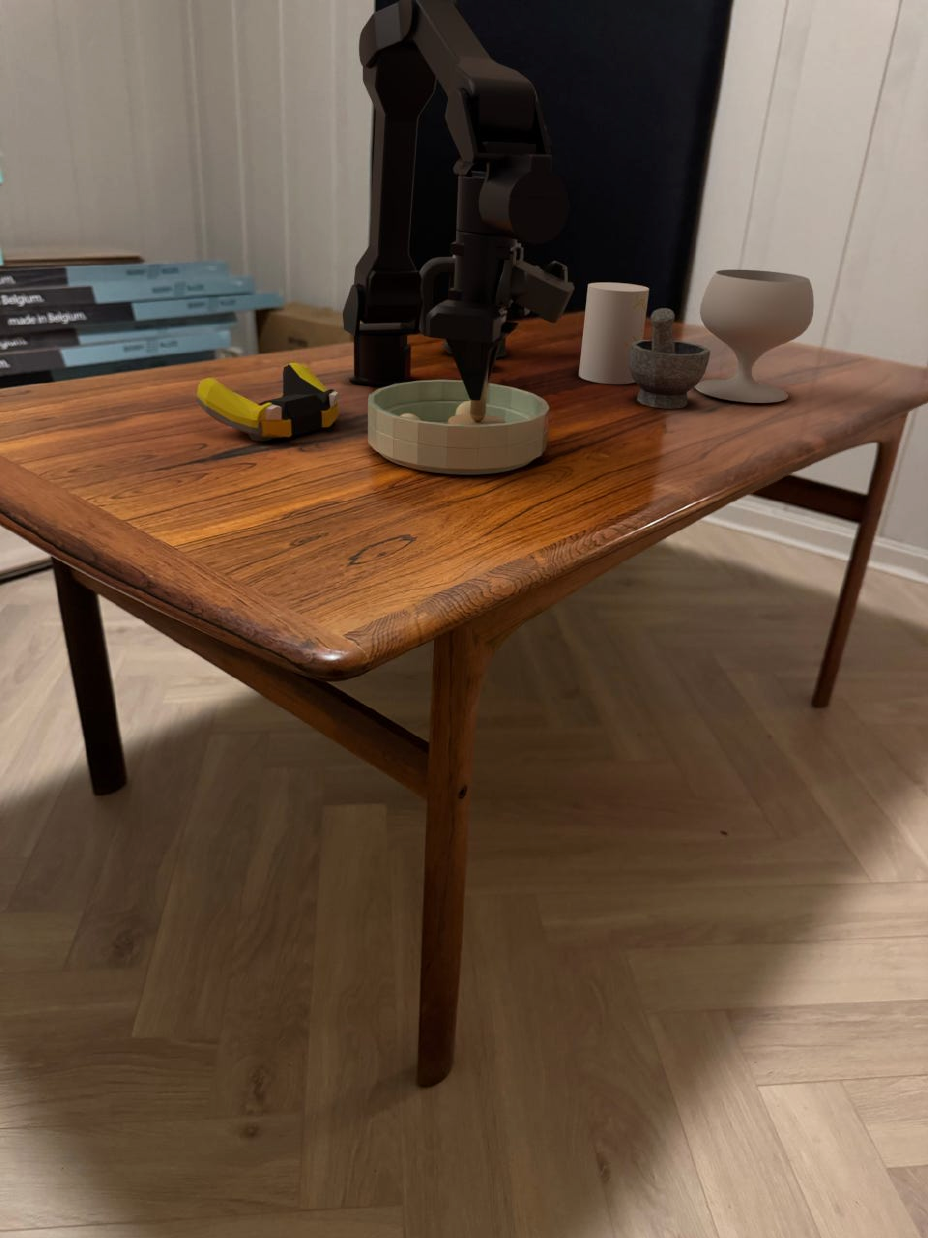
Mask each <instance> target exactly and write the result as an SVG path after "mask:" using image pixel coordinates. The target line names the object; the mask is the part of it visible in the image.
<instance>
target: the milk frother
mask: <svg viewBox="0 0 928 1238" xmlns="http://www.w3.org/2000/svg"><path fill="white" fill-rule="evenodd" d="M418 272H419V273H420V275H421V278H422V281H421V288H420V289H421V292H422V296H423V304H422V310H421V316H420V323H419V328H418V331H419V333H420V334H421V335H422V336H424V337H427V336H426V315H427V314H428V313H429V312H430V311H431V310H432V309H433V308H434V283H435V282H434V281H435V279H436V278H437V276H438V275H439V274H442V273H448V288H447V290H449V289H451V288H453V287H454V277H455V255H452V256H438V257H433V258H431V259H430V260H428V261H427V262H425V263H424V264H423V265H422V267H421V268H420V270H419V271H418ZM502 314H505V315H506V320H505V321H506V322H508V311H507V310H503V311H502ZM506 342H507V337H505V338H504V339H503V340H502V342H501V345H500V348H499V351H498V354H497V358H502V357H505V356H506V355H507V354H508V351H507V350H506V344H507V343H506ZM441 346H443V347H444V348H445V351H446V352H447V353H448V354H450V355H452V353H451V351H450V349H449V346H448V344H447V342H446V340H443V342H442V343H441ZM497 358H496V359H497Z"/></svg>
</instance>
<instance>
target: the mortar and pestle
mask: <svg viewBox="0 0 928 1238" xmlns="http://www.w3.org/2000/svg"><path fill="white" fill-rule="evenodd" d="M649 318H650V319H649V320H650V323H651V324H652V330H651V332H652V333H651V334H652V335H651V339H643V340H637V341H635V342H633V343H631V344H630V347H629V354H628V356H629V369H630V372H631V375H632V377H633V379H634V381H635V382H634V383H636V384H637V386H638V387H639V388H640V389H639V391H638V393H637V398H636V401H637V402H638V403H639V404H641V405H644V406H648V407H651V408H656V409H667V410H668V409H669V410H673V409H682V408H684V407H685V406H687V405H688V392H689V391H690V390H692V389H693V388H695V385H697V384H698V383H699V382H701V380H702V379H703V377H704V375H705V373H706V371H707V367H708V365H709V362H710V355H711V350H710V349H709V348H707V347H705V346H703V345H701V344H696V343H691V342H687V341H682V340H675V332H674V321H675V319H676V315H675V313H674V311H673V310H672V309H670V308H667V307H664V308H663V307H662V308H661V307H660V308H657V309H655V310H654V311H652V312H651V315H650V316H649Z"/></svg>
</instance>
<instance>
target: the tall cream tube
mask: <svg viewBox="0 0 928 1238" xmlns="http://www.w3.org/2000/svg"><path fill="white" fill-rule="evenodd" d="M649 294H650V288H649V287H647V286H644V285H640V284H639V285H638V284H634V283H623V282H591V283H588V284H587V291H586V302H585V311H584V320H583V330H582V340H581V350H580V360H579V369H578V377H579V378H581V379H583V380H585V381H589V382H592V383H598V384H604V385H605V384H606V385H607V384H608V385H628V384H633V383H636V382H635V381H634V379H633V377H632V375H631V372H630V369H629V356H628V354H629V347H630V344H631V343H633V342H635V341H637V340H644V331H645V326H646V325H645V324H646V317H647V309H648V301H649Z"/></svg>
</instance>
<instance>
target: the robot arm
mask: <svg viewBox="0 0 928 1238" xmlns="http://www.w3.org/2000/svg"><path fill="white" fill-rule="evenodd" d="M358 57H359V62H360V66H362V82H363V85H364V87H365V89H366V91H367V94H368V96H369V98H370V100H371V102H372V104H373V107H374V109H375V123H374V124H375V125H374V142H373V143H374V144H373V145H374V146H373V163H372V165H373V166H372V186H371V187H372V188H371V207H370V225H369V227H370V228H369V229H370V230H369V245H368V247H367V248H366V250H365V251H364V252H363V254H362V256H361V257H360V259H359V260H358V262H357V263H356V265H355V266H354V275H353V276H354V277H353V284H352V285H351V286H350V289H349V291H348V295H347V298H346V301H345V303H344V307H343V310H342V321H343V330H344V331H346V332H347V333H349V334H350V335H351V336H353V376H350V377H348V381H349V383H353V384H361V385H370V386H379V387H386V386H390V385H393V384H398V383H406V381H408V380H409V379H411V378H412V376H411V375H412V374H411V371H412V369H411V367H412V366H411V365H412V345H411V344H409V343H408V335H410V334H412V335H418V332H419V323H420V316H421V310H422V304H423V296H422V292H421V289H420V288H421V281H422V278H421V275H420V273H419V272H420V271H419V270H417V268H416V266H415V264H414V262H413V260H412V258H411V256H410V237H411V236H410V235H411V223H412V211H413V210H412V209H413V196H414V195H413V194H414V181H415V169H416V168H415V167H416V152H417V141H418V140H417V139H418V126H419V125H418V124H419V118H420V115H421V114H422V113H423V111H424V109H425V108H426V106H427V105H428V103H429V102H430V100H431V99H432V97H433V95H434V94H435V91H436V87H437V81H438V83H439V84H440V85H441V88H442V89H443V90H444V92H445V93H446V96H447V98H448V99H447V104H446V110H445V113H444V119H445V121H446V123H447V127H448V130H449V133H450V135H451V137H452V140H453V141H454V142H453V143H454V144H455V146H456V148H457V151H458V153H459V155H460V158H459V159H458V160H456V162H455V164H454V166H453V173H454V175H458V181H457V182H458V183H457V205H456V207H457V209H456V230H455V232H456V233H455V241H453V242H450V243H449V246H450V247H449V256H453V255H455V277H454V287H453V288H451V289H449V290H448V289H447V290H448V291H447V299H445V300H443V301H442V302H440V303H438V304H436V305H435V306H433V309H432V310H431V311H430V312H429V313H428V314H427V315H426V336H425V337H426V338H431V339H439V340H444V341H446V342H447V344H448V346H449V349H450V351H451V353H452V354H451V355H452V358H453V360H454V363H455V365H456V368H457V370H458V372H459V376H460V377H461V381H463V383H464V386H465V388H466V391H467V393H468V396H469V398H470V400H474V401H480V400H481V398H482V393H483V389H484V385H485V381H486V376H487V371H488V384H487V388H488V385H489V383H490V382H491V378H492V374H493V371H494V368H495V364H496V361H497V354H498V351H499V348H500V345H501V342H502V340H503V339H504V338H505V337H506V338H507V337H508V336H509V335H511V333H512V332H514V331H515V330H516V329H517V328H518V327H519V326H520V323H519V322H516V321H505V320H506V315H505V314H502V311H503V310H507V312H509V311H512V312H518V314H519V316H521V317H526V316H527V315H528V314H530V312H532V313H535V314H536V315H539V317H540V319H541V320H544V321H545V322H549V323H551V324H556V323H557V322H558V320H559V319H561V318H562V316H563V315H564V313H565V310H566V308H567V306H568V303H569V301H570V299H571V297H572V294H573V292H574V290H575V285H574V283H573V282H571V281H569V280H568V279H569V278H568V276H569V275H568V266H566V265H565V264H563V263H560V262H559V261H556V260H553V261H551V262H550V263H549V264H548V265H546V266H545V268H543V269H542V268H541V267H540V266H538V265H532V264H530V263H528V262H527V261H524V247H522V243H521V242H524V243H528V244H532V245H543V244H545V243H548V242H550V241H552V240H554V239H555V238H556V237H557V236H558V235H559V234H560V233H561V231H562V230H563V228H564V227H565V225H566V222H567V220H568V219H569V218H568V217H569V213H570V206H571V204H570V200H569V197H568V191H567V189H566V186H565V184H564V182H563V181H562V179H561V178H560V177H559V176H558V175H556V174H555V173H554V172H552V167H553V166H552V165H553V156H552V152H551V151H552V149H553V143H552V141H551V138H550V135H549V132H548V130H547V126H546V124H545V120H544V117H543V113H542V108H541V107H542V106H541V104H540V101H539V97H538V96H537V92H536V89H535V87H534V84H533V83H532V82H531V81H530V80H529V79H528V78H527V77H526V76H524V75H523V74H521V73H520V72H519V71H518V70H516V69H514V68H510V67H508V66H506V65H503V64H501V63H498V62H496V61H495V60H493V59H492V58H491V57H490V55H489V53H488V52H487V51H486V49H485V48H484V46H483V45H482V43H481V42H480V41H479V39H478V38H477V36H476V35H475V33H474V32H473V30H472V29H471V28H470V26H469V25H468V23H467V22H466V21H465V19H464V18H463V16H462V15H461V14H460V12H459V5H458V2H457V0H398V1H397V2H395V3H393V4H391V5H388V6H386V7H384V8H382V9H378V10H377V11H374V13H372V14H371V16H370V17H369V19H367V21H366V23H365V25H364V26H363V28H362V29H361V32H360V34H359V39H358ZM518 241H519V242H520V241H521V242H520V243H519V242H518Z"/></svg>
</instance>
